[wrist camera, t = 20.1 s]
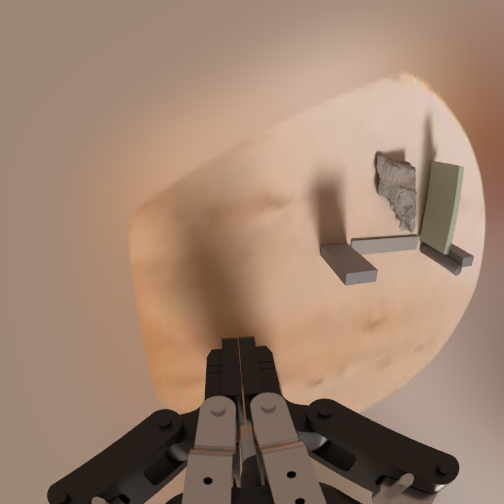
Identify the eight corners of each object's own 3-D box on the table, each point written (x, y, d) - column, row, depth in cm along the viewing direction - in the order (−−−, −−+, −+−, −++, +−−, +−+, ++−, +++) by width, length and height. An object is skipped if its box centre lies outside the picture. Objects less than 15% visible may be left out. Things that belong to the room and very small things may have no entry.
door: (419, 239, 42) (443, 254, 35) (431, 160, 37) (459, 165, 30) (428, 240, 42) (452, 254, 35) (440, 163, 37) (468, 168, 30)
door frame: (436, 250, 44) (469, 272, 34) (320, 262, 42) (344, 294, 33) (438, 234, 42) (474, 253, 33) (321, 242, 41) (346, 270, 31)
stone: (373, 230, 41) (386, 239, 38) (372, 154, 36) (386, 156, 33) (404, 225, 42) (418, 233, 38) (404, 153, 37) (420, 156, 33)
